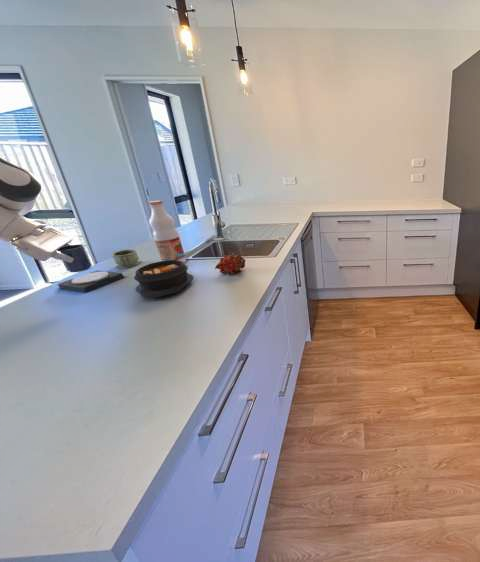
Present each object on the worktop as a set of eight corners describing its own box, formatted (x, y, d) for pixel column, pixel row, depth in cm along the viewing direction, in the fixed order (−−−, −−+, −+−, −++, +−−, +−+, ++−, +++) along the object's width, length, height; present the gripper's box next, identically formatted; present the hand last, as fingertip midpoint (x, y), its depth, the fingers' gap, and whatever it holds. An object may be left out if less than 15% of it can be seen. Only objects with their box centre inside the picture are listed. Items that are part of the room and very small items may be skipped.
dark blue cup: (63, 272, 101) (52, 249, 98) (84, 265, 107) (74, 244, 104) (76, 273, 100) (65, 250, 96) (97, 267, 105) (87, 245, 102)
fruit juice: (163, 262, 140) (142, 201, 128) (186, 258, 144) (168, 198, 133) (162, 268, 132) (140, 204, 121) (186, 263, 137) (168, 201, 125)
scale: (60, 289, 115) (56, 282, 113) (99, 275, 127) (96, 268, 126) (86, 292, 111) (83, 286, 110) (124, 278, 123) (121, 271, 122)
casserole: (193, 295, 107) (186, 273, 104) (130, 307, 100) (120, 284, 97) (196, 271, 128) (191, 253, 124) (144, 280, 121) (136, 260, 117)
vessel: (117, 263, 139) (112, 250, 136) (140, 259, 144) (135, 246, 141) (116, 271, 130) (110, 257, 128) (141, 266, 135) (136, 253, 132)
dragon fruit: (250, 273, 129) (221, 283, 124) (243, 258, 132) (215, 267, 127) (247, 262, 122) (216, 272, 117) (240, 246, 125) (209, 256, 120)
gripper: (12, 232, 85) (72, 258, 93) (43, 219, 102) (92, 242, 110) (-2, 249, 85) (59, 274, 93) (32, 233, 102) (81, 256, 110)
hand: (77, 257), depth 102 cm, fingers closed on dark blue cup, 6 cm apart
